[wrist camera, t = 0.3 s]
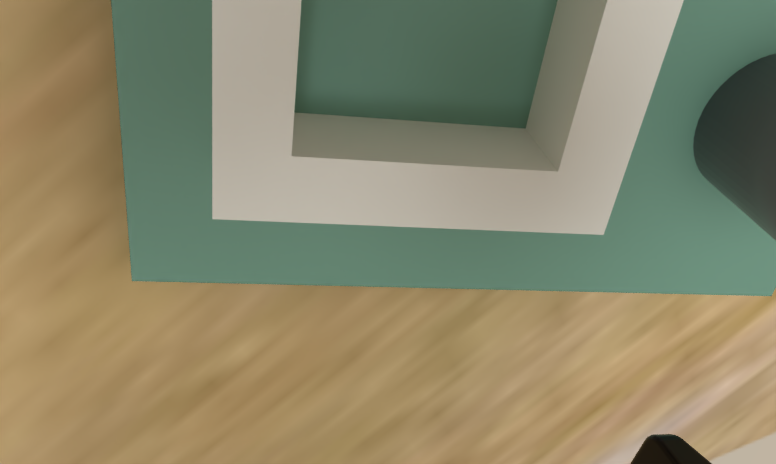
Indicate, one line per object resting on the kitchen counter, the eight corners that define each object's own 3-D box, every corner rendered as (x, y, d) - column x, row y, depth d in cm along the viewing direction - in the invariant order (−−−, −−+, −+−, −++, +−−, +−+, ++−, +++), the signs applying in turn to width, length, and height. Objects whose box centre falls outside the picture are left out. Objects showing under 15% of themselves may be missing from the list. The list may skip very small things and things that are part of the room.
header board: (756, 281, 28) (821, 346, 25) (136, 263, 24) (114, 340, 20) (980, -171, 20) (1123, -164, 17) (96, -327, 15) (47, -362, 12)
